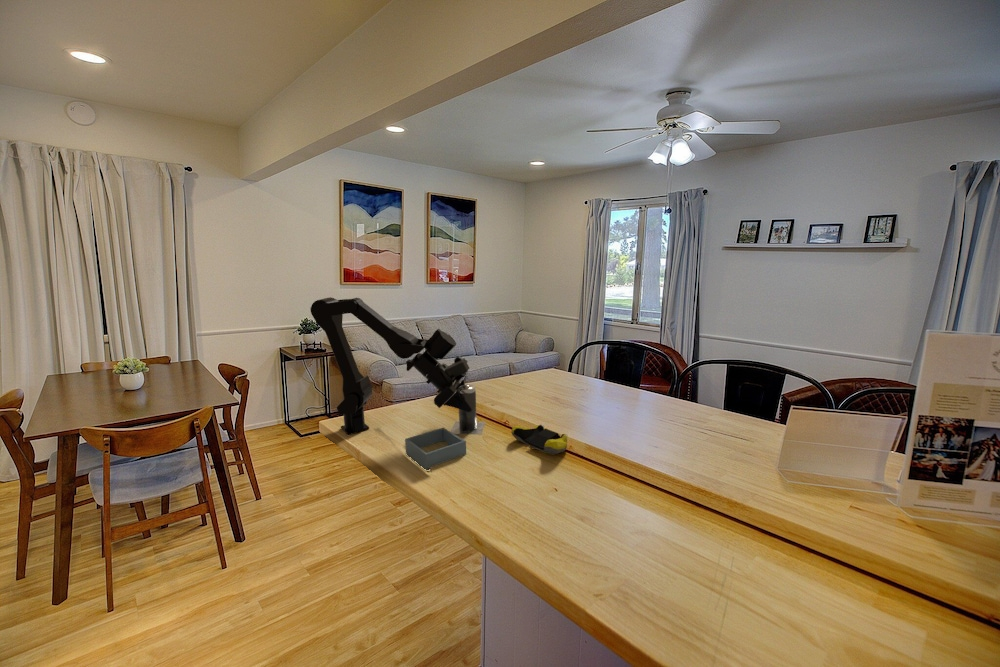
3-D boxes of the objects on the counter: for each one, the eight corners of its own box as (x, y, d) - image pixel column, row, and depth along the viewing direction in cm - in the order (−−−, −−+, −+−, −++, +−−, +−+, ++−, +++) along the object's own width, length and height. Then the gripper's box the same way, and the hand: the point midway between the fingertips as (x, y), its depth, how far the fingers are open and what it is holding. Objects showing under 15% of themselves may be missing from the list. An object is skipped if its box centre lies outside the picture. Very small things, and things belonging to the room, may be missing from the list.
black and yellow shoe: (550, 465, 106) (576, 452, 112) (550, 444, 105) (576, 431, 111) (508, 446, 117) (533, 434, 123) (507, 426, 116) (533, 416, 122)
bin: (406, 454, 113) (404, 438, 112) (444, 442, 119) (443, 427, 119) (426, 471, 104) (425, 454, 103) (466, 457, 111) (465, 441, 110)
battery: (456, 426, 127) (454, 385, 125) (470, 422, 130) (469, 381, 128) (465, 432, 123) (463, 389, 121) (480, 427, 126) (478, 385, 124)
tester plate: (449, 436, 123) (449, 433, 123) (456, 424, 132) (455, 421, 131) (481, 437, 122) (481, 434, 122) (485, 424, 131) (485, 421, 131)
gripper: (443, 358, 113) (487, 399, 115) (457, 343, 132) (495, 378, 133) (415, 387, 116) (458, 427, 117) (433, 368, 134) (470, 403, 135)
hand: (472, 407), depth 125 cm, fingers closed on battery, 5 cm apart
